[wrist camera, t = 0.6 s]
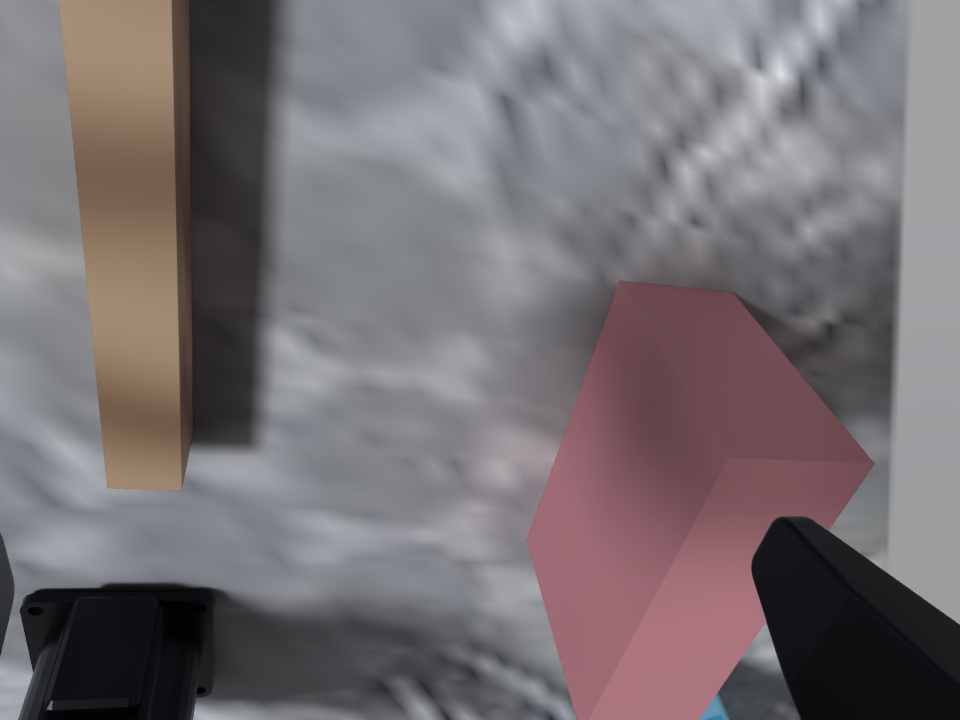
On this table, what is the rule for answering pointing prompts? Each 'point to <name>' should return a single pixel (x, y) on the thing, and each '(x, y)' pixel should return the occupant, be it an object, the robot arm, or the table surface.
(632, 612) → the boxed book
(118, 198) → the rail
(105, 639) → the robot arm
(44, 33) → the table surface
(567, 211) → the table surface
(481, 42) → the table surface
